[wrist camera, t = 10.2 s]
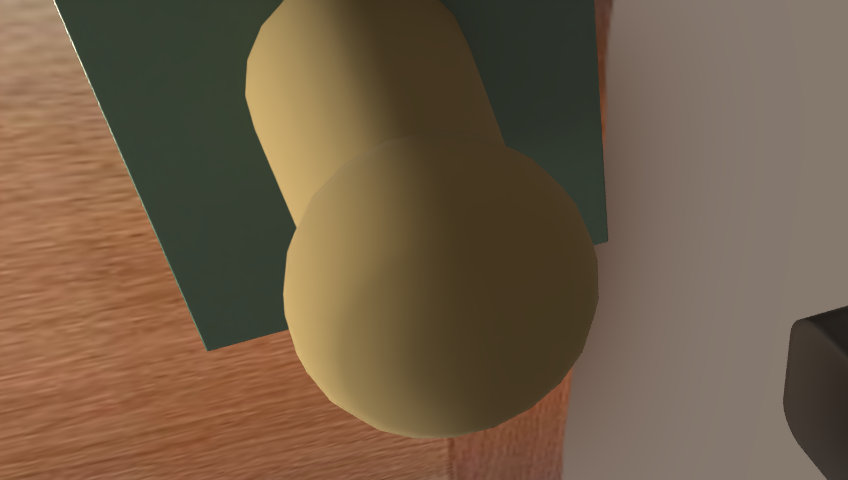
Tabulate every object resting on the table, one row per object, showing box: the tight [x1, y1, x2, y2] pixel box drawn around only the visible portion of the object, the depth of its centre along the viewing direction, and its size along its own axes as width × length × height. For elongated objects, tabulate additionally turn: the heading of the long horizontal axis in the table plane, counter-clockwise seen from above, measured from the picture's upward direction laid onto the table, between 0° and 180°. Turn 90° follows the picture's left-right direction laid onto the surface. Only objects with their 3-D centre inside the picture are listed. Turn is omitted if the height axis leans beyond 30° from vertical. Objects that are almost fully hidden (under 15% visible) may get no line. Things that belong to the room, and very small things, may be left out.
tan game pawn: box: [245, 0, 598, 438], centre depth 17 cm, size 6×6×11 cm
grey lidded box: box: [53, 0, 608, 351], centre depth 25 cm, size 14×13×9 cm
